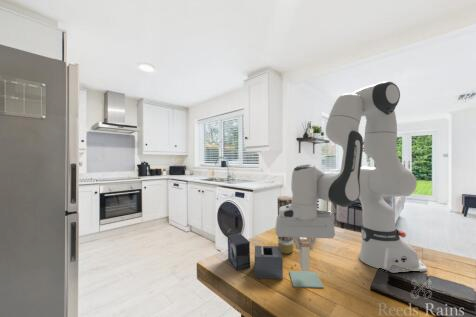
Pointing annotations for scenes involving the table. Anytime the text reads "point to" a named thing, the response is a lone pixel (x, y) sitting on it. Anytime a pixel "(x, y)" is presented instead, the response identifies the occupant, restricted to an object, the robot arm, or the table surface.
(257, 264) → the dispenser
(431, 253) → the table surface
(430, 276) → the table surface
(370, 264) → the robot arm
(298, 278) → the mat
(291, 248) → the paper tube
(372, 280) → the table surface
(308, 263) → the white block
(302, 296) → the table surface
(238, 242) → the small box
